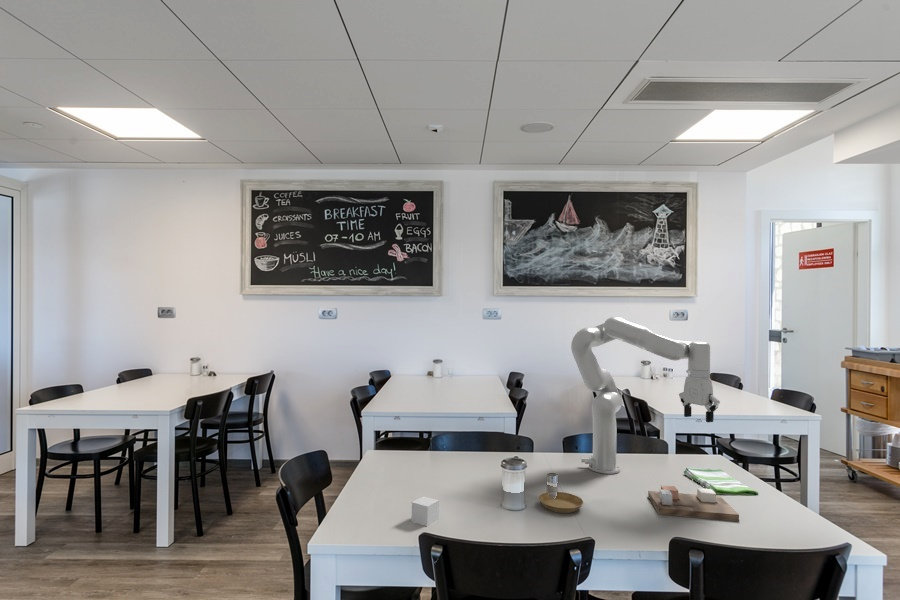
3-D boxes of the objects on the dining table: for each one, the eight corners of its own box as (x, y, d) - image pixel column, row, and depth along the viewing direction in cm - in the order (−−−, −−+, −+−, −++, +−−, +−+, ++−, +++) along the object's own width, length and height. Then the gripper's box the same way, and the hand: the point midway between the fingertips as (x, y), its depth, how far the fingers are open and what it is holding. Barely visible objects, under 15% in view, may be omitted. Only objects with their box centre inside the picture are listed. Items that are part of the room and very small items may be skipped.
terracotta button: (664, 498, 170) (664, 489, 170) (660, 493, 174) (660, 485, 174) (678, 499, 169) (678, 490, 169) (674, 494, 173) (674, 486, 173)
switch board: (659, 514, 161) (659, 507, 161) (648, 496, 177) (648, 490, 177) (738, 521, 157) (739, 514, 157) (720, 502, 173) (720, 496, 173)
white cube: (427, 526, 149) (427, 506, 149) (411, 521, 152) (411, 502, 152) (438, 519, 154) (438, 500, 154) (422, 515, 157) (423, 496, 157)
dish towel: (723, 475, 204) (723, 467, 204) (760, 496, 181) (760, 486, 181) (682, 475, 203) (682, 466, 203) (714, 496, 180) (714, 486, 180)
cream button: (701, 501, 168) (701, 492, 168) (697, 496, 172) (697, 488, 172) (716, 502, 167) (716, 493, 167) (711, 497, 171) (711, 489, 171)
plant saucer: (529, 502, 170) (530, 494, 170) (565, 496, 176) (565, 489, 176) (555, 519, 156) (555, 510, 156) (592, 512, 162) (592, 504, 162)
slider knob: (662, 504, 163) (662, 493, 163) (659, 500, 167) (659, 489, 167) (672, 505, 162) (672, 494, 162) (669, 500, 166) (669, 490, 166)
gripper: (673, 371, 195) (672, 415, 195) (711, 377, 179) (711, 424, 179) (687, 371, 198) (686, 414, 198) (726, 376, 182) (725, 423, 182)
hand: (698, 419), depth 188 cm, fingers open, 9 cm apart
